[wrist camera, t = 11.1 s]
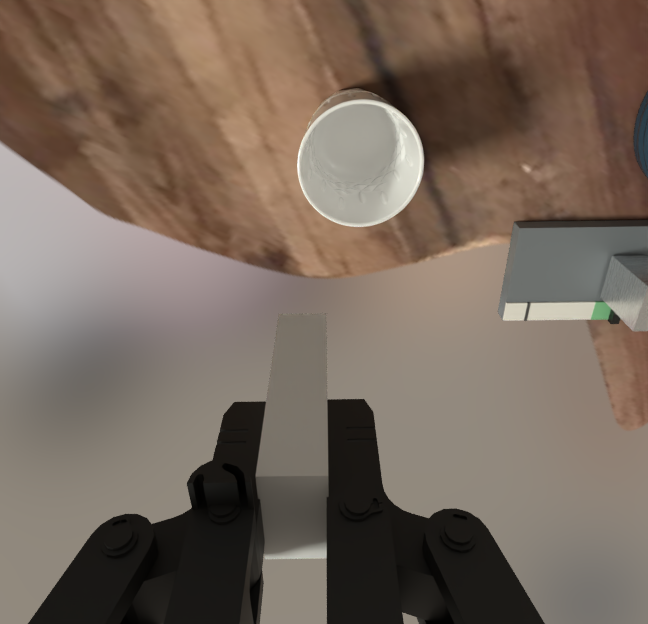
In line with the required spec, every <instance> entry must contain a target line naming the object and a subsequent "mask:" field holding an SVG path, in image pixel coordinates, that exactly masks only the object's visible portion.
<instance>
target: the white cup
mask: <svg viewBox="0 0 648 624" xmlns="http://www.w3.org/2000/svg"><path fill="white" fill-rule="evenodd" d="M297 169H298V177H299V181H300V185H301V188H302V190H303V192H304V194H305V196H306V198H307V200H308V201H309V202H310V204H311V205H312V206H313V207H314V208H315V209H316V210H317V211H318V212H319V213H320V214H322V215H323V216H324V217H326V218H328V219H329V220H331V221H333V222H336V223H338V224H342V225H346V226H352V227H365V226H371V225H375V224H379V223H382V222H384V221H386V220H388V219H390V218H392V217H393V216H395V215H396V214H398V213H399V212H400V211H401V210H402V209H404V208H405V207H406V205H407V204H408V203H409V202H410V201H411V199H412V198H413V196H414V195H415V193H416V191H417V189H418V187H419V185H420V182H421V179H422V175H423V170H424V152H423V146H422V143H421V140H420V137H419V135H418V133H417V131H416V129H415V127H414V126H413V124H412V123H411V122H410V121H409V119H408V118H407V117H406V116H405V115H404V114H402V113H401V112H400V111H399V110H398V109H397V108H395V107H394V106H393V105H392V104H391V103H389V102H388V101H387V100H385V99H384V98H382V97H380V96H378V95H377V94H374V93H372V92H369V91H365V90H362V89H360V88H354V89H347V90H340V91H337V92H336V93H334V94H333V95H331V96H330V97H329V98H327V99H326V100H324V101H323V102H322V103H321V104H320V106H319V108H318V109H317V110H316V112H315V113H314V115H313V116H312V118H311V120H310V122H309V124H308V126H307V129H306V132H305V134H304V137H303V140H302V143H301V146H300V149H299V154H298V162H297Z"/></svg>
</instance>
